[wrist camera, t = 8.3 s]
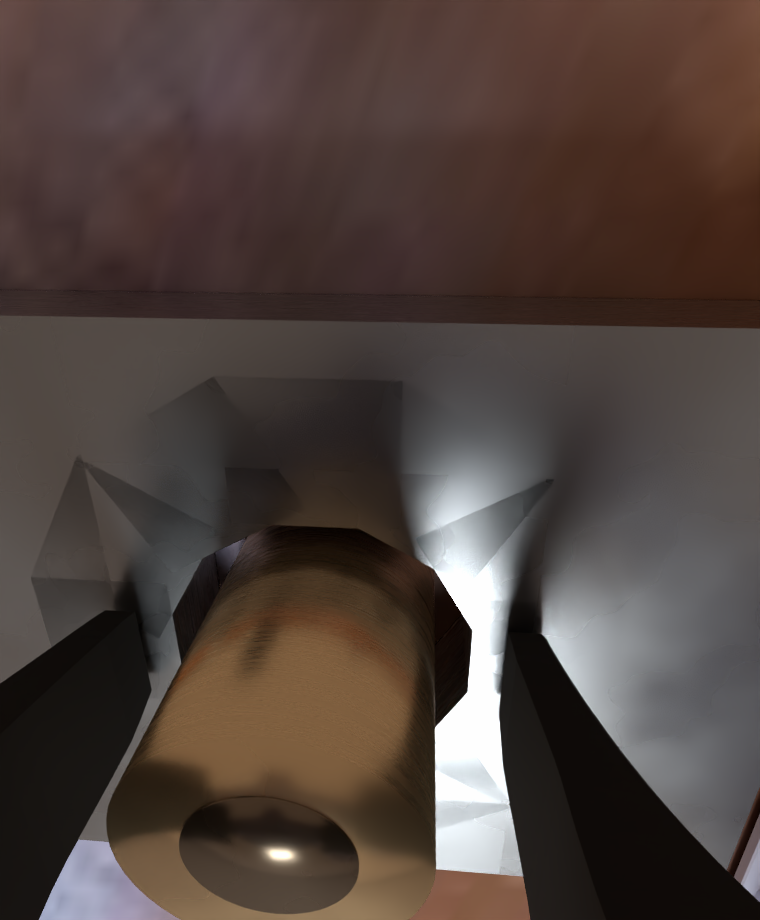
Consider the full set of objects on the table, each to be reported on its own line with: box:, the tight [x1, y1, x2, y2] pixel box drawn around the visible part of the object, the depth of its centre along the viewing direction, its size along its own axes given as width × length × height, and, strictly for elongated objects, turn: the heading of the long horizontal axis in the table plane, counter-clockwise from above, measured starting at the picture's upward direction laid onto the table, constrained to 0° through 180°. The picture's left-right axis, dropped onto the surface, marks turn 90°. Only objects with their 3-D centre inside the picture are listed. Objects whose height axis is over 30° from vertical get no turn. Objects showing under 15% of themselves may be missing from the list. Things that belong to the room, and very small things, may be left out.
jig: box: [0, 290, 760, 876], centre depth 12 cm, size 18×13×4 cm
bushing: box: [106, 525, 436, 920], centre depth 11 cm, size 4×4×6 cm
